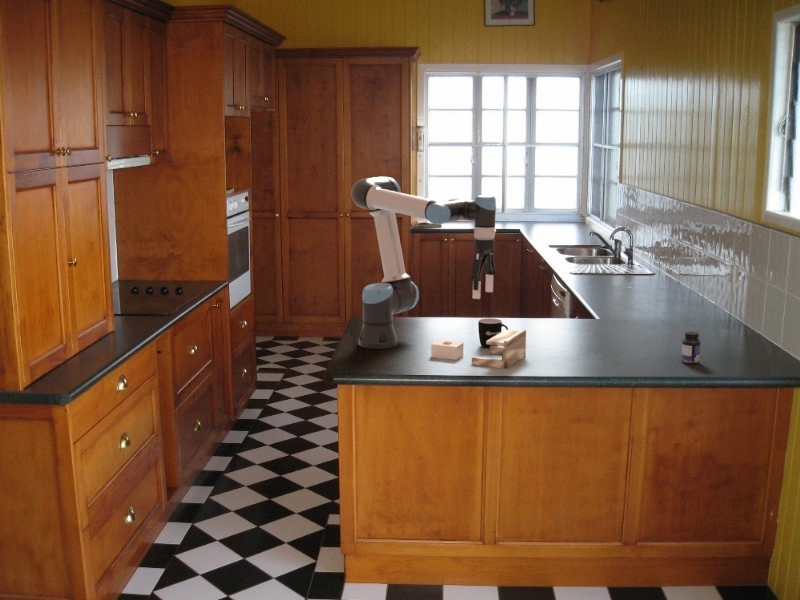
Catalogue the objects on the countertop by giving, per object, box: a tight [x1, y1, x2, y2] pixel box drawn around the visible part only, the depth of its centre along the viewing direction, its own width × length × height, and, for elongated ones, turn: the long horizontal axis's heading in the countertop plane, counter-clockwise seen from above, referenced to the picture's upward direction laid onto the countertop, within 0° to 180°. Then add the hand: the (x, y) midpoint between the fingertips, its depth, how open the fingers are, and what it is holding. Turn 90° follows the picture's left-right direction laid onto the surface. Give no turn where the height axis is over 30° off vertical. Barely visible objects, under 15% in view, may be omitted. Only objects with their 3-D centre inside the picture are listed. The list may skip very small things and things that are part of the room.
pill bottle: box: [681, 330, 701, 365], centre depth 316 cm, size 6×6×11 cm
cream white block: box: [430, 339, 464, 361], centre depth 327 cm, size 10×7×6 cm
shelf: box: [471, 328, 527, 370], centre depth 321 cm, size 14×19×10 cm
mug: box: [477, 317, 509, 349], centre depth 341 cm, size 12×9×10 cm
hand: (482, 295), depth 327 cm, fingers open, 13 cm apart
